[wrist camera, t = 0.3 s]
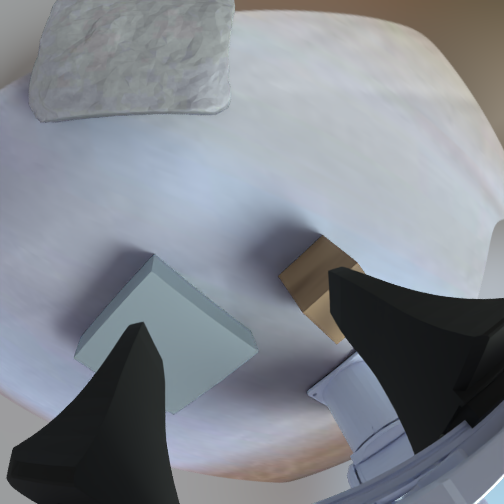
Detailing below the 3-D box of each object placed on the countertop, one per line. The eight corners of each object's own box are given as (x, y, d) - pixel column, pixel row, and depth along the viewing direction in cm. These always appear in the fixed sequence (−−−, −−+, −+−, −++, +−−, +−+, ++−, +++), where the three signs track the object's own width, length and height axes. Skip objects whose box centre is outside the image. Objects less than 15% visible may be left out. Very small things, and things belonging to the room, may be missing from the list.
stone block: (69, 14, 12) (45, 137, 14) (53, -21, 8) (11, 123, 10) (229, 6, 15) (224, 127, 17) (246, -32, 11) (243, 106, 13)
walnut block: (349, 270, 23) (384, 301, 19) (310, 307, 24) (336, 344, 19) (322, 234, 22) (357, 262, 17) (277, 275, 22) (303, 312, 17)
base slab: (249, 327, 24) (259, 351, 21) (172, 390, 25) (174, 414, 22) (154, 251, 19) (151, 271, 17) (81, 334, 20) (73, 358, 18)
